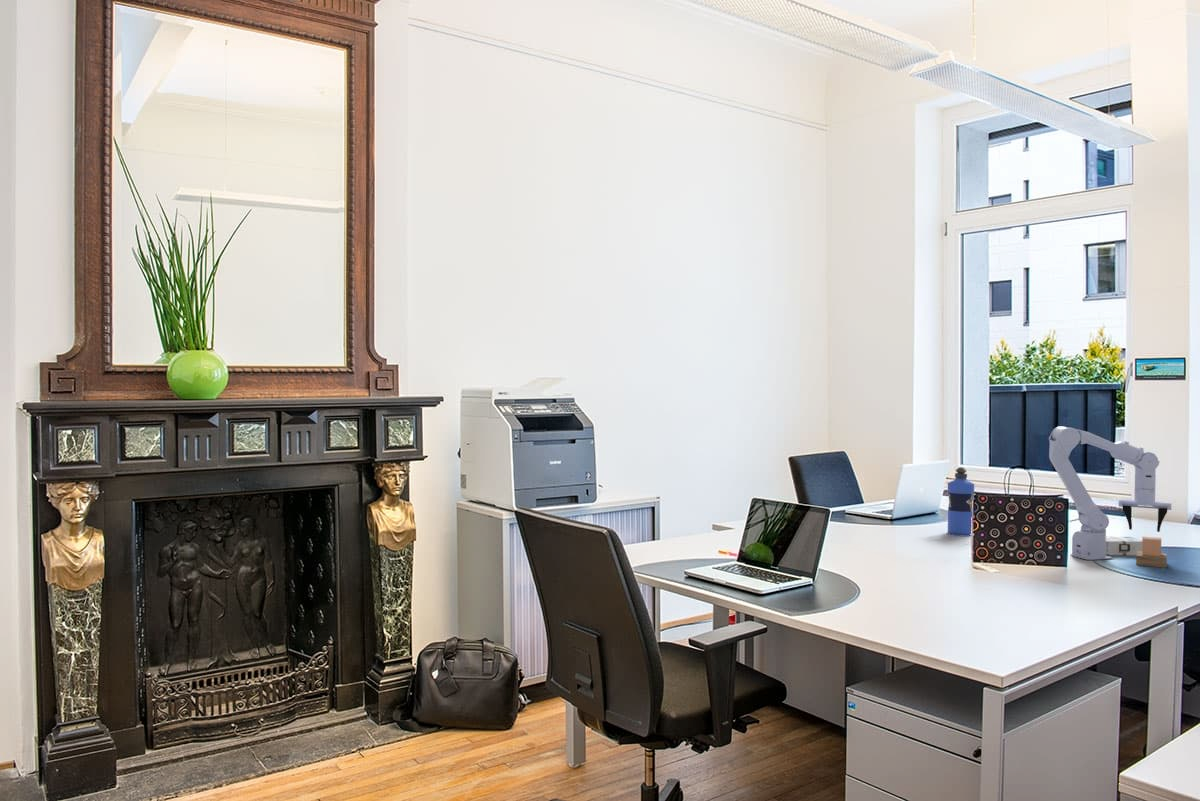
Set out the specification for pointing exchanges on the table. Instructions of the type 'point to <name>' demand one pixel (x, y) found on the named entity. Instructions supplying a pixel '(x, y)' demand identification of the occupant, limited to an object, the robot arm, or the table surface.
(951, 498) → the water bottle
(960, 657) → the table surface
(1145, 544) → the terracotta cube
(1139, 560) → the walnut slab
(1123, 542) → the ink box
